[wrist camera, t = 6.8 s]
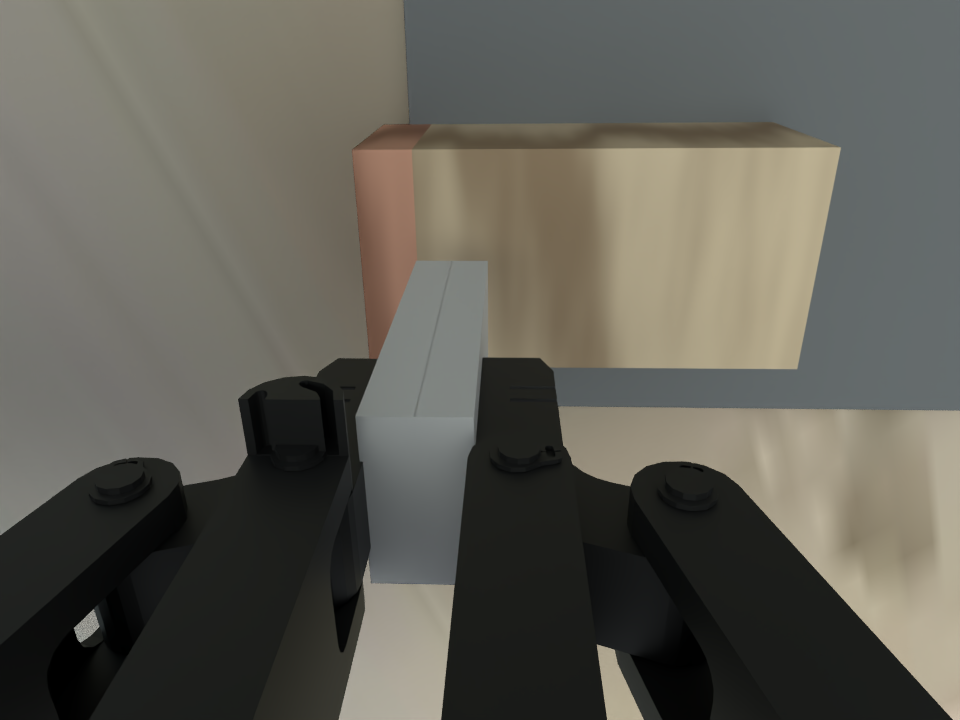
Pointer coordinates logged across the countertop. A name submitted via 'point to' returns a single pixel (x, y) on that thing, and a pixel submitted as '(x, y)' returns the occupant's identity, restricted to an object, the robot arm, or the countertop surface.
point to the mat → (753, 98)
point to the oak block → (605, 235)
